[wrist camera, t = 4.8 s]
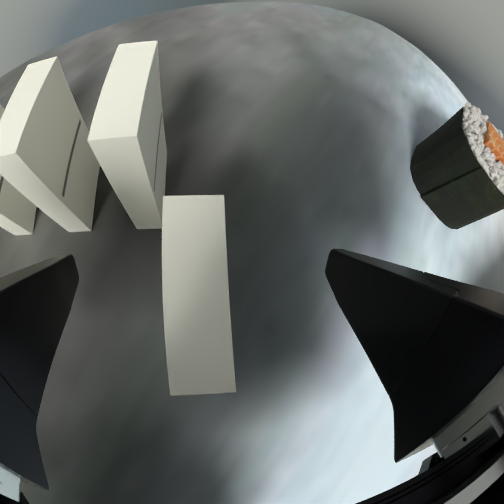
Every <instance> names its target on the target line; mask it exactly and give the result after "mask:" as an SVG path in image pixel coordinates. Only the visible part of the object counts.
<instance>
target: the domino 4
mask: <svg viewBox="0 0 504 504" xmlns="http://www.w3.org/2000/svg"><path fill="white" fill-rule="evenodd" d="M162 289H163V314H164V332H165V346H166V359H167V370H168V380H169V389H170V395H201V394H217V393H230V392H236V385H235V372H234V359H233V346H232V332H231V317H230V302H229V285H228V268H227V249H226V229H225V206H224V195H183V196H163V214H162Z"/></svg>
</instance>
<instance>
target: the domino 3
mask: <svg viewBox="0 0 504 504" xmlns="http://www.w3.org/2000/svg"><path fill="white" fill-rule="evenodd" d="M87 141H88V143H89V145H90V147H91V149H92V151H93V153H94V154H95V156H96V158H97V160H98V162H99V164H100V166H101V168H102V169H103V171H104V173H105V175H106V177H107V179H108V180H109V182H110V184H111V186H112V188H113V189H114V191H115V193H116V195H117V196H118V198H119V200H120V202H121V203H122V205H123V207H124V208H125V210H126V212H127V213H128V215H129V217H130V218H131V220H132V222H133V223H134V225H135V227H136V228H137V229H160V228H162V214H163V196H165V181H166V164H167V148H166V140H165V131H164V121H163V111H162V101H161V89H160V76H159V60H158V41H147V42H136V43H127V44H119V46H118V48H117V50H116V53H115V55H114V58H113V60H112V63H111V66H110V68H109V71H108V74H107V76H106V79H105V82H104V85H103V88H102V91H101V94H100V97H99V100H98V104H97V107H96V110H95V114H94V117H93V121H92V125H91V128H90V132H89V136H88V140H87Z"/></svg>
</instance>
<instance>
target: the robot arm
mask: <svg viewBox="0 0 504 504" xmlns="http://www.w3.org/2000/svg"><path fill="white" fill-rule="evenodd" d="M325 274H326V277H327V279H328V282H329V284H330V286H331V288H332V291H333V293H334V295H335V298H336V300H337V302H338V304H339V306H340V308H341V310H342V311H343V313H344V315H345V317H346V318H347V320H348V322H349V324H350V325H351V327H352V329H353V331H354V332H355V334H356V336H357V338H358V340H359V341H360V343H361V345H362V347H363V349H364V350H365V352H366V354H367V356H368V358H369V359H370V361H371V363H372V365H373V367H374V369H375V371H376V372H377V374H378V376H379V378H380V380H381V382H382V384H383V386H384V388H385V390H386V391H387V393H388V395H389V397H390V399H391V402H392V405H393V411H394V460H395V462H396V463H397V462H399V461H401V460H403V459H406V458H408V457H410V456H412V455H414V454H416V453H418V452H420V451H421V450H423V449H425V448H427V447H429V446H431V445H433V444H434V446H435V448H436V450H437V452H436V453H435V454H433V455H431V456H430V457H428V458H427V459H425V460H424V461H423V462H422V465H421V468H420V471H419V474H418V475H417V476H415V477H414V478H412V479H410V480H408V481H406V482H404V483H402V484H400V485H398V486H396V487H394V488H392V489H390V490H387V491H385V492H383V493H381V494H378V495H376V496H374V497H371V498H369V499H366V500H364V501H361V502H359V503H356V504H504V294H502V293H498V292H495V291H491V290H488V289H484V288H480V287H477V286H473V285H469V284H465V283H462V282H458V281H454V280H451V279H447V278H444V277H440V276H437V275H433V274H430V273H426V272H424V273H423V272H422V271H418V270H415V269H411V268H408V267H405V266H401V265H398V264H394V263H391V262H387V261H383V260H380V259H376V258H373V257H369V256H366V255H362V254H358V253H355V252H351V251H347V250H344V249H332V250H331V251H330V253H329V257H328V261H327V264H326V269H325ZM78 282H79V275H78V271H77V267H76V264H75V260H74V257H73V255H71V254H62V255H59V256H56V257H53V258H51V259H48V260H45V261H42V262H40V263H37V264H34V265H32V266H29V267H26V268H24V269H21V270H19V271H16V272H13V273H11V274H8V275H6V276H3V277H1V278H0V504H29V502H28V501H27V499H26V498H25V496H24V495H23V493H22V492H20V487H21V481H22V482H25V483H28V484H31V485H34V486H37V487H40V488H43V489H46V490H48V489H49V487H48V482H47V479H46V475H45V471H44V467H43V463H42V459H41V454H40V450H39V445H38V440H37V434H36V422H37V416H38V412H39V408H40V404H41V400H42V396H43V392H44V388H45V384H46V381H47V377H48V374H49V371H50V367H51V364H52V361H53V358H54V355H55V352H56V349H57V346H58V343H59V340H60V337H61V335H62V332H63V329H64V326H65V324H66V321H67V319H68V316H69V313H70V310H71V307H72V303H73V299H74V296H75V292H76V289H77V285H78Z"/></svg>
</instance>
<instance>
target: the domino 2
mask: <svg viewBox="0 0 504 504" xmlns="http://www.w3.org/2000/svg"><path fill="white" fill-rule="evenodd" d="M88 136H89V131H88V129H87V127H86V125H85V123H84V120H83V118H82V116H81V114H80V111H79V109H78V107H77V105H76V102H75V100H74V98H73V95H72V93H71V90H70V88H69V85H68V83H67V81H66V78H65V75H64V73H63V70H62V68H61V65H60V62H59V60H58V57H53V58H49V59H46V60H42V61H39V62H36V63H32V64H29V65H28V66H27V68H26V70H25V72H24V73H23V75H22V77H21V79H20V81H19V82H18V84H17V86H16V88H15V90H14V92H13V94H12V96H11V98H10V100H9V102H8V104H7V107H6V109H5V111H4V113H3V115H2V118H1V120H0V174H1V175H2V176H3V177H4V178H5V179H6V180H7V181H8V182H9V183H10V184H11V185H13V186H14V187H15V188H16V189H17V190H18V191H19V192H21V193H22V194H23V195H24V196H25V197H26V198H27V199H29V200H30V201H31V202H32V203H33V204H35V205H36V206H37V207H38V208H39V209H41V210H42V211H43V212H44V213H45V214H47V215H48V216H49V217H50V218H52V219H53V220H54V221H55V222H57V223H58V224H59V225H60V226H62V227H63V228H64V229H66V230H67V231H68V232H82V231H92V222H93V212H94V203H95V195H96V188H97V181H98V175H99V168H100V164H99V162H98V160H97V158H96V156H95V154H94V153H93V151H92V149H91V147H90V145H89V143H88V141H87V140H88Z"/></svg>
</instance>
